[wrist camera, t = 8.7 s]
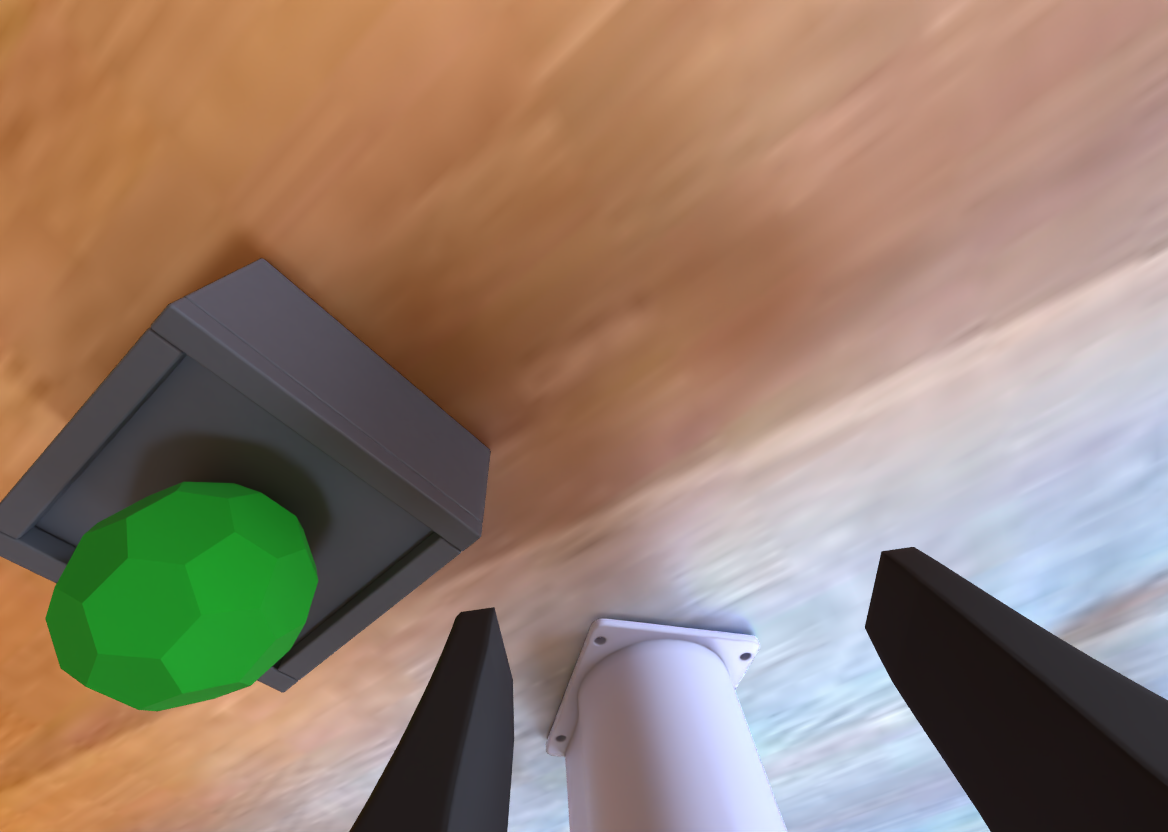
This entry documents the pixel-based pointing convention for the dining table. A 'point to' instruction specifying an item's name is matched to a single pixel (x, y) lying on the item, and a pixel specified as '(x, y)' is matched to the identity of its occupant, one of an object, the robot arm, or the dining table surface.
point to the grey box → (266, 451)
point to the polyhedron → (183, 596)
